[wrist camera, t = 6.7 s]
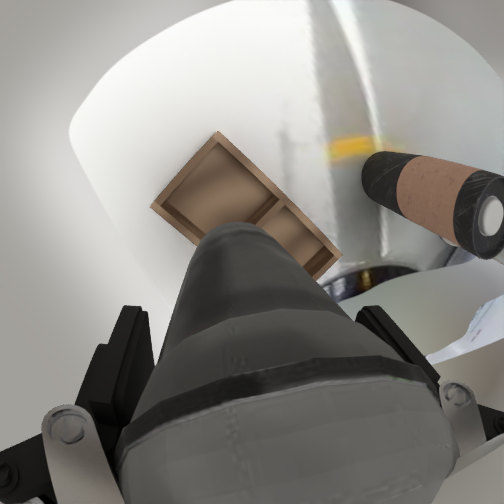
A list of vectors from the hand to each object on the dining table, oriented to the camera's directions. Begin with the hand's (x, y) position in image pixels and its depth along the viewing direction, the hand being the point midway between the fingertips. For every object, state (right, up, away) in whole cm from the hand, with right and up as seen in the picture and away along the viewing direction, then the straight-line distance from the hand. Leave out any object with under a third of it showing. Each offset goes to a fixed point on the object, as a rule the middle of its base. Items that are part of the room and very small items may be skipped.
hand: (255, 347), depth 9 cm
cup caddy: (-1, +7, +27) cm, 28 cm away
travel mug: (+18, +13, +28) cm, 35 cm away
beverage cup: (-1, +3, +6) cm, 7 cm away
